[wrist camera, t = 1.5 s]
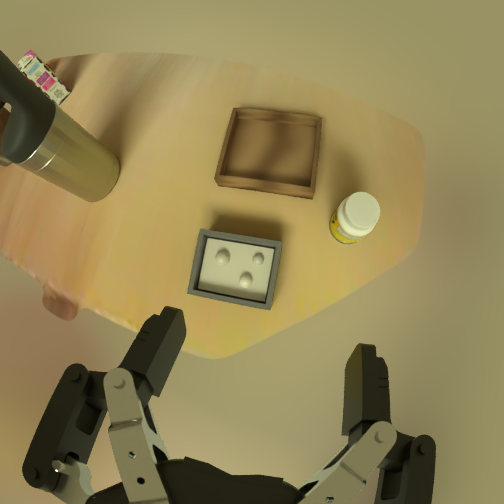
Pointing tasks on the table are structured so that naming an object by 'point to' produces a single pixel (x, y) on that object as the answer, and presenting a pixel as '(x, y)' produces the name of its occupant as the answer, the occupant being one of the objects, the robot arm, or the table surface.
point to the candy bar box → (43, 77)
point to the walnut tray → (270, 152)
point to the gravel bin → (235, 268)
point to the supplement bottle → (354, 218)
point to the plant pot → (3, 115)
